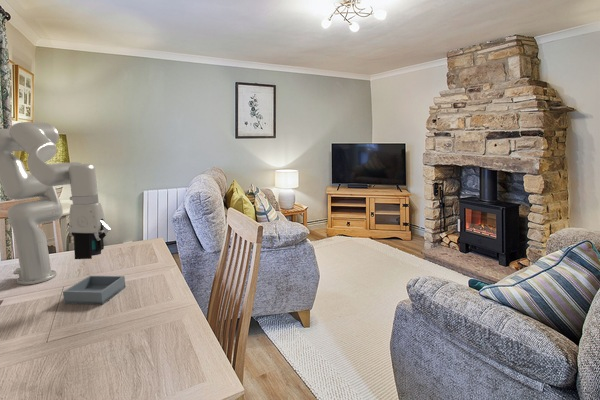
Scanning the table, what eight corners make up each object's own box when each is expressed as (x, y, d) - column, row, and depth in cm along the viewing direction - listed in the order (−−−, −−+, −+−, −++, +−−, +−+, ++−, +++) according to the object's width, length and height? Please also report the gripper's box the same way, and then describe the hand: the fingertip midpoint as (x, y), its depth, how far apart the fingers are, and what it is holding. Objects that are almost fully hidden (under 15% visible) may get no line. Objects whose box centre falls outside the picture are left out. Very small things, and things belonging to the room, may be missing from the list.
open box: (64, 303, 113) (62, 291, 113) (91, 286, 127) (90, 275, 126) (102, 304, 113) (101, 292, 112) (125, 287, 126) (124, 276, 125)
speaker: (88, 260, 112) (86, 230, 111) (74, 259, 113) (72, 229, 113) (105, 254, 120) (104, 226, 119) (92, 254, 121) (90, 226, 120)
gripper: (53, 201, 110) (60, 253, 114) (102, 202, 109) (108, 254, 113) (69, 197, 118) (75, 246, 121) (116, 198, 117) (121, 247, 120)
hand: (91, 249), depth 117 cm, fingers closed on speaker, 5 cm apart
